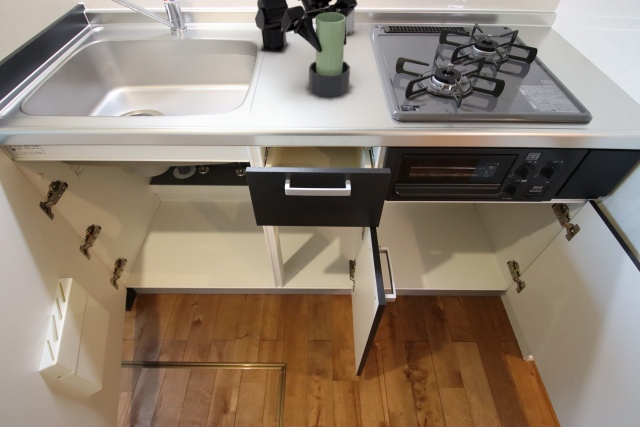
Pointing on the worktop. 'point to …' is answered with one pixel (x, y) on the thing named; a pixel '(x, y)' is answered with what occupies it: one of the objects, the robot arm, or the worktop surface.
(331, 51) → the cup
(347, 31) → the bottle
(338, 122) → the worktop surface
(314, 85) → the bucket
